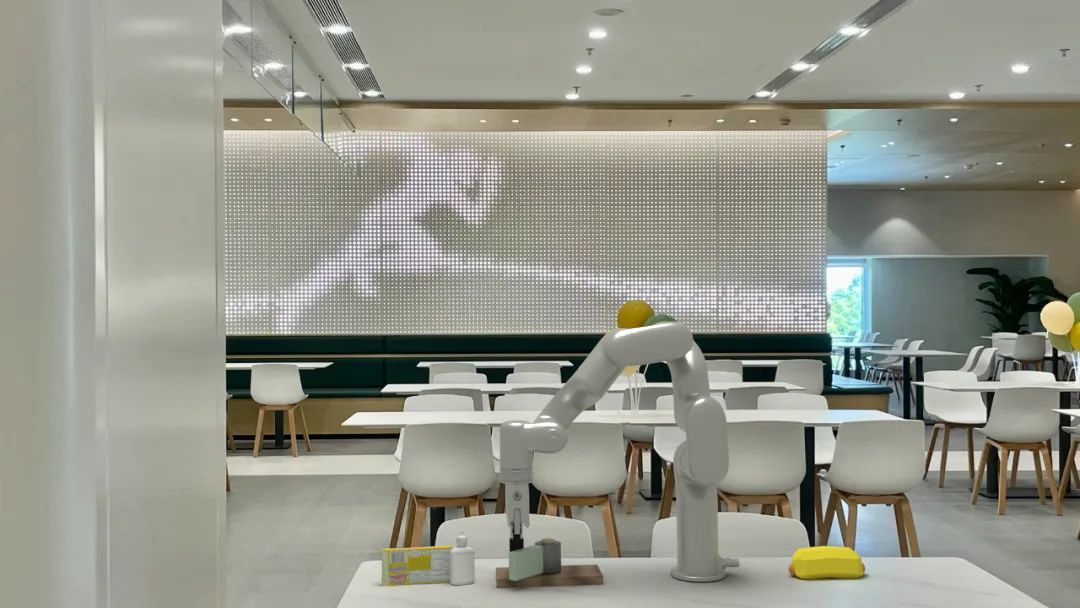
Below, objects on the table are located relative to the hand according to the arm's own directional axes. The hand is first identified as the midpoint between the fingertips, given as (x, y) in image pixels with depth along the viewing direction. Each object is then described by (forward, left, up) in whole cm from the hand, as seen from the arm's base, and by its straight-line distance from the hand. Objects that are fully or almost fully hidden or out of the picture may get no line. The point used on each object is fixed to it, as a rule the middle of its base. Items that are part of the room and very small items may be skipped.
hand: (516, 556), depth 217 cm
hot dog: (-72, +1, -7) cm, 72 cm away
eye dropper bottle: (+12, -3, -7) cm, 14 cm away
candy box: (+23, -4, -7) cm, 24 cm away
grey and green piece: (-4, 0, -4) cm, 6 cm away
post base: (-7, -3, -7) cm, 10 cm away
